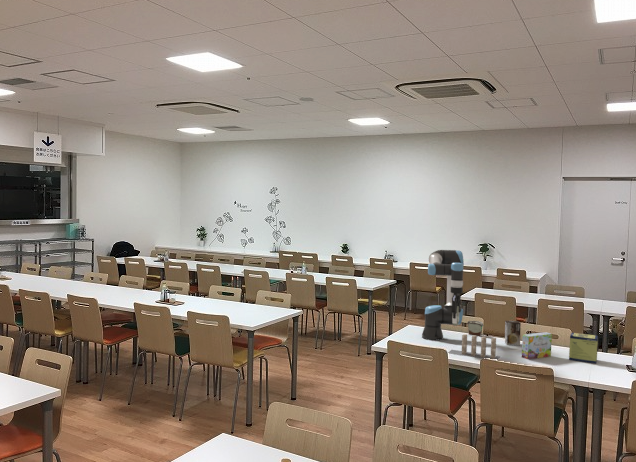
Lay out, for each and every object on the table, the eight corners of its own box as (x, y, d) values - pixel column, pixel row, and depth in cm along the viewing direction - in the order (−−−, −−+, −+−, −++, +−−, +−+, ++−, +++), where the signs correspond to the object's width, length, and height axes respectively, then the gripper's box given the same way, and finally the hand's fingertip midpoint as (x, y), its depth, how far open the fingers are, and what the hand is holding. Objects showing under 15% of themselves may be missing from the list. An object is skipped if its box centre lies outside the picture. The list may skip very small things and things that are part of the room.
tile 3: (471, 355, 334) (471, 336, 334) (472, 353, 338) (473, 335, 338) (474, 356, 333) (474, 337, 333) (476, 354, 337) (476, 335, 337)
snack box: (528, 360, 328) (529, 336, 327) (521, 358, 333) (521, 334, 332) (551, 356, 338) (552, 333, 337) (544, 354, 342) (545, 331, 342)
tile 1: (490, 358, 328) (491, 339, 328) (492, 356, 332) (492, 337, 332) (493, 358, 327) (494, 339, 327) (495, 357, 332) (496, 338, 331)
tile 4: (461, 354, 337) (462, 335, 337) (463, 352, 341) (464, 334, 341) (464, 354, 336) (465, 335, 336) (466, 352, 340) (467, 334, 340)
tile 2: (480, 356, 331) (481, 338, 331) (482, 355, 335) (483, 336, 335) (484, 357, 330) (484, 338, 330) (485, 355, 334) (486, 336, 334)
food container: (486, 335, 393) (486, 322, 392) (482, 337, 388) (482, 323, 388) (470, 333, 401) (471, 320, 401) (466, 334, 397) (467, 321, 396)
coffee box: (517, 343, 371) (518, 320, 370) (520, 345, 364) (521, 322, 364) (504, 343, 372) (505, 320, 371) (506, 345, 365) (507, 322, 365)
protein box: (596, 363, 323) (597, 338, 322) (568, 360, 330) (569, 335, 330) (597, 359, 332) (598, 335, 331) (569, 356, 339) (570, 332, 339)
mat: (447, 353, 339) (447, 353, 339) (451, 350, 348) (451, 349, 348) (497, 361, 323) (497, 360, 323) (500, 357, 333) (500, 356, 333)
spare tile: (453, 325, 339) (453, 306, 339) (455, 324, 344) (455, 305, 343) (456, 325, 338) (456, 307, 338) (458, 324, 343) (458, 306, 342)
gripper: (458, 288, 331) (457, 325, 331) (466, 285, 346) (465, 321, 347) (447, 287, 334) (446, 324, 335) (454, 284, 350) (453, 319, 351)
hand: (455, 322), depth 341 cm, fingers closed on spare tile, 5 cm apart
